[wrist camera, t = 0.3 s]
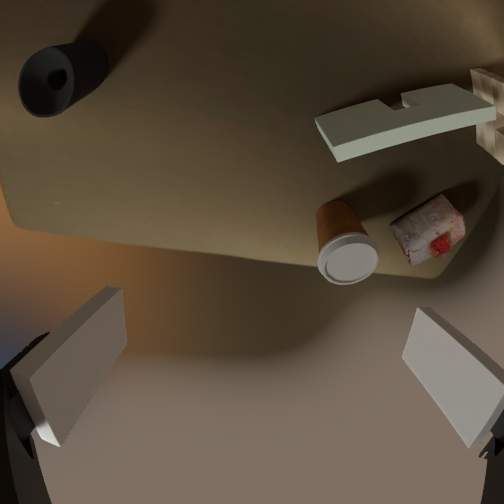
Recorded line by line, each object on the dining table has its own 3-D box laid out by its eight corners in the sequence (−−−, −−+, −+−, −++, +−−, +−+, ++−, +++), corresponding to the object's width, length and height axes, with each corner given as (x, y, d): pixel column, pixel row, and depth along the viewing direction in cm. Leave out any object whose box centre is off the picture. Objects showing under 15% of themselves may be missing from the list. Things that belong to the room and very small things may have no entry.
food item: (443, 185, 44) (470, 218, 37) (452, 213, 48) (475, 246, 41) (385, 220, 50) (404, 258, 43) (399, 245, 54) (416, 281, 47)
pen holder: (77, 29, 25) (35, 36, 18) (122, 56, 30) (87, 67, 23) (50, 80, 30) (10, 100, 23) (90, 107, 35) (55, 131, 27)
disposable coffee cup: (369, 204, 47) (393, 251, 39) (341, 242, 53) (356, 292, 45) (324, 184, 45) (342, 231, 36) (297, 227, 51) (306, 278, 42)
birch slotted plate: (470, 69, 28) (515, 89, 20) (480, 68, 27) (525, 88, 19) (476, 142, 37) (513, 174, 29) (485, 140, 36) (522, 171, 28)
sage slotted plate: (318, 129, 39) (337, 162, 31) (314, 117, 37) (333, 147, 29) (453, 94, 32) (496, 119, 24) (451, 83, 31) (495, 106, 23)
